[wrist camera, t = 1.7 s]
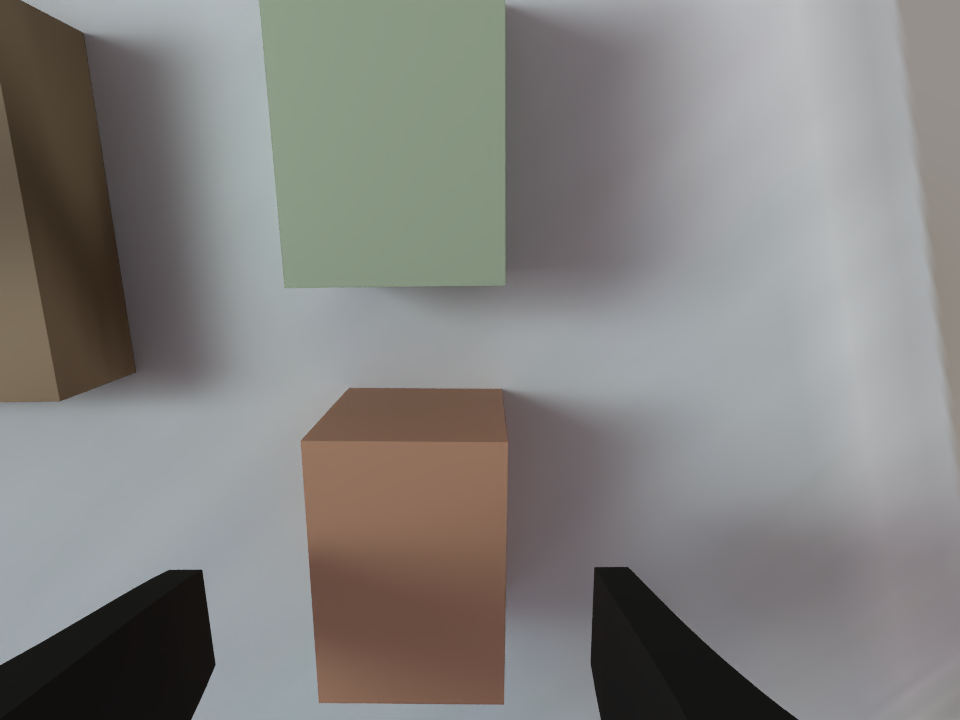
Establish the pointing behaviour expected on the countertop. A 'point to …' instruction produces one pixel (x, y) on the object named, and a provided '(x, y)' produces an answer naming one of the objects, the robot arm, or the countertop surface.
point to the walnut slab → (54, 219)
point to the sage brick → (388, 140)
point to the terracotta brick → (408, 545)
